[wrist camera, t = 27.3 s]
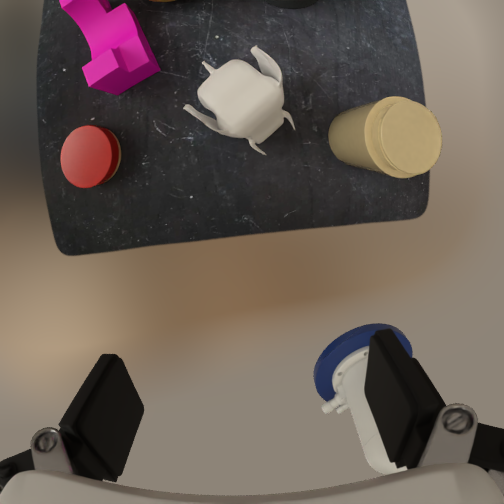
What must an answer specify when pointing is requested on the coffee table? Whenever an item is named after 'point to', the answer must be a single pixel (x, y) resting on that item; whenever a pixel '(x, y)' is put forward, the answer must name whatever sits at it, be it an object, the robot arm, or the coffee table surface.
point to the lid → (89, 156)
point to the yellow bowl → (163, 0)
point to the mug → (291, 3)
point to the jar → (387, 137)
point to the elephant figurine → (244, 99)
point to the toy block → (112, 45)
